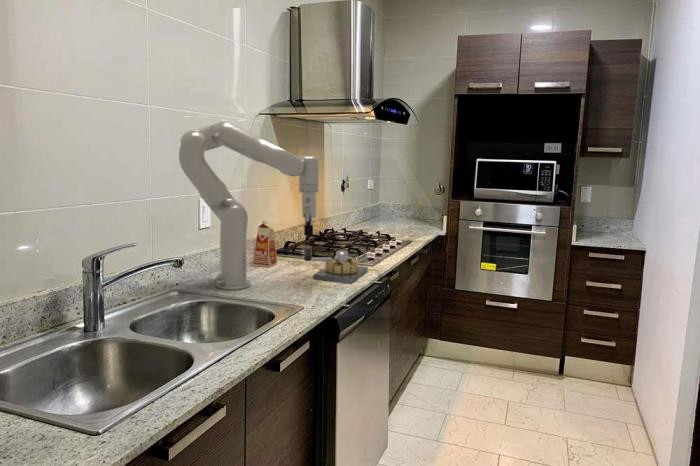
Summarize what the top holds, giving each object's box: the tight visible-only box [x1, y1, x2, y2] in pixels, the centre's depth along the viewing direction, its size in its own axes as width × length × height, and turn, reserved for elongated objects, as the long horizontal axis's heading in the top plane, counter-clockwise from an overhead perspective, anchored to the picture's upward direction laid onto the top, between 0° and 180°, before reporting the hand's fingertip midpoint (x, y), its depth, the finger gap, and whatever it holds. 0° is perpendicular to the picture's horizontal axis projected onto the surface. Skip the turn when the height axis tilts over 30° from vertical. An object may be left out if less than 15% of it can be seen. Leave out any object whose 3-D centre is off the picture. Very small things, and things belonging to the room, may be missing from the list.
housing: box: [312, 250, 369, 285], centre depth 215 cm, size 22×16×10 cm
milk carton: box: [251, 220, 278, 268], centre depth 228 cm, size 9×9×20 cm
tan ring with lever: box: [303, 246, 359, 274], centre depth 213 cm, size 23×13×10 cm, turn 107°
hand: (308, 235), depth 203 cm, fingers closed
